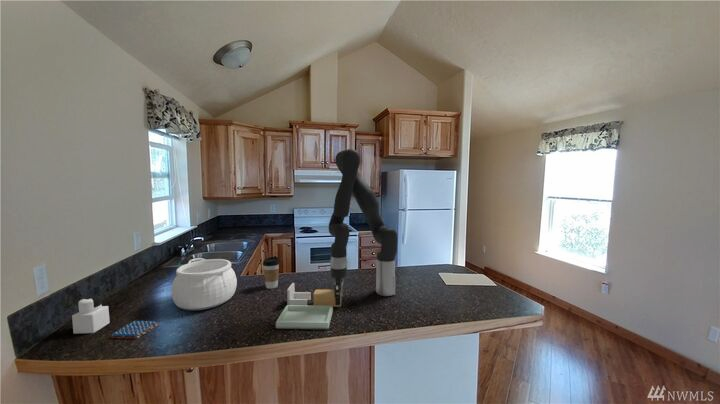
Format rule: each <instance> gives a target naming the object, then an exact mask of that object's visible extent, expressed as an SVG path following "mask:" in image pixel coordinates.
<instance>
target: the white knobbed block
mask: <svg viewBox="0 0 720 404" xmlns="http://www.w3.org/2000/svg"><path fill="white" fill-rule="evenodd" d="M109 311H110V310H109V305H102V296H100V295H92V296H87V297H83V298H82V299H80V300H79V301H78V312H76V313H74V314H72V315H71V319H72V330H73V331H72V332H73V334H75V335H77V334H94V333H96V332H98V331H99V330H101V329H103V328H104V327H106V326H107V325H108V324H110V312H109Z"/></svg>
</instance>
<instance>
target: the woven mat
mask: <svg viewBox="0 0 720 404" xmlns="http://www.w3.org/2000/svg"><path fill="white" fill-rule="evenodd" d="M158 325H159V321H158V320H136V319H135V320H134V321H131V322H130V323H128V324H126V325H124V326H123V327H121V328H120V329H118V330H117V331H115V332H113V333H112V334H111V335H110V338H112V339H137V340H138V339H139V338H140V337H142V335H145V334H146V333H147V332H150V330H152V329H154V327H157V326H158Z"/></svg>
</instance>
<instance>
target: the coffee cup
mask: <svg viewBox="0 0 720 404" xmlns="http://www.w3.org/2000/svg"><path fill="white" fill-rule="evenodd" d="M279 265H280V258H279V257H278V256H270V257H266V258H265V259H263V262H262V266H263V274H264V275H263V276H264V280H265V288H266V289H269V290H270V289H271V290H272V289H275V288H278V285H279V273H280V272H279V270H280V266H279Z"/></svg>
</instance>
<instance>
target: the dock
mask: <svg viewBox="0 0 720 404" xmlns="http://www.w3.org/2000/svg"><path fill="white" fill-rule="evenodd" d="M295 286H296V285H295V282H292V283H291V284H290V285H289V287H288V288H287V289H286V296H287V297H286V301H287V305H308V301H311V300H312V299H311V297H312V296H311V295H312V294H311V293H312V292H309V291H304V292H302V291H301V292H300V291H295V290H296V289H295Z"/></svg>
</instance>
